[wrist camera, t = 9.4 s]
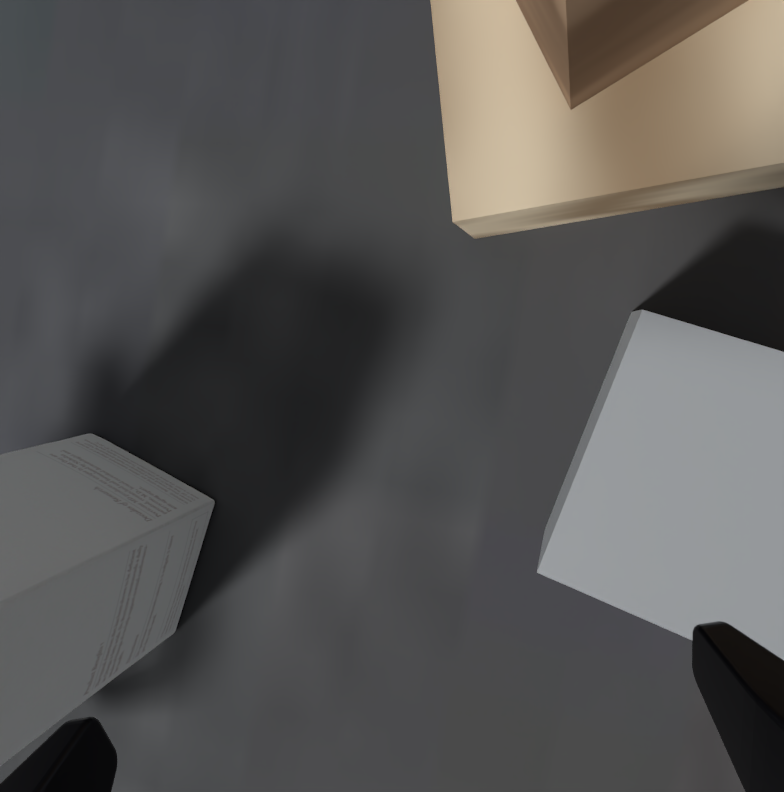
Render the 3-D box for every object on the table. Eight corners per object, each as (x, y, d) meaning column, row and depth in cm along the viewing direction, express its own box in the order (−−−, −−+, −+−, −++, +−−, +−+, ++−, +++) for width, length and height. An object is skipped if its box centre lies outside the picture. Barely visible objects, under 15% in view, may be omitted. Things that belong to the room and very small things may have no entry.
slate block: (907, 395, 17) (1000, 416, 13) (786, 626, 18) (837, 704, 15) (630, 312, 19) (642, 309, 15) (545, 526, 21) (536, 572, 17)
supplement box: (91, 427, 26) (-314, 514, 14) (221, 499, 25) (-119, 667, 13) (57, 561, 28) (-330, 737, 16) (176, 638, 26) (-161, 900, 14)
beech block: (795, -180, 16) (860, -334, 12) (811, 185, 17) (876, 146, 13) (448, -61, 19) (415, -153, 16) (477, 240, 20) (452, 221, 16)
